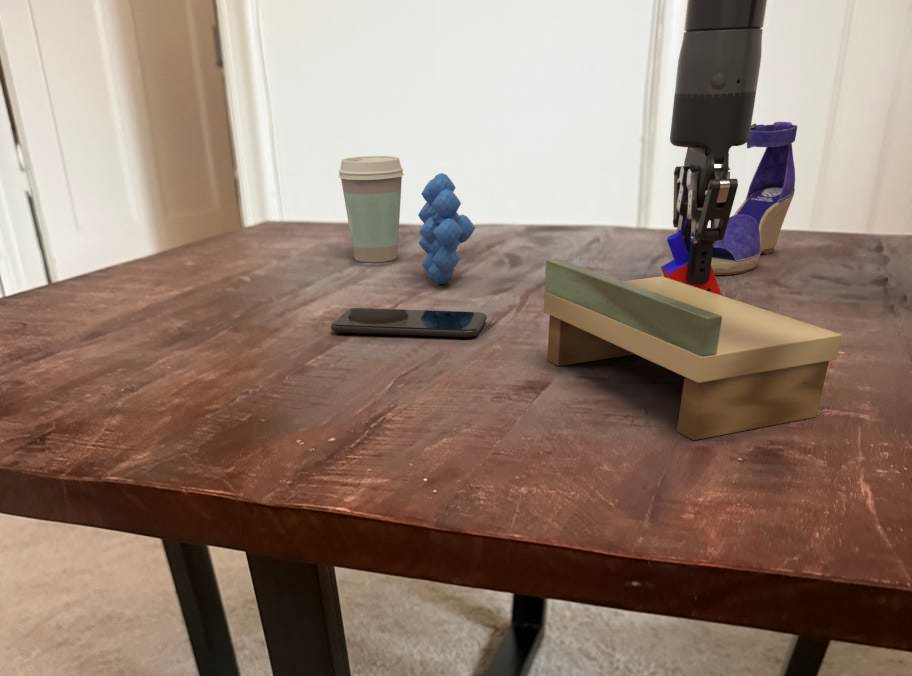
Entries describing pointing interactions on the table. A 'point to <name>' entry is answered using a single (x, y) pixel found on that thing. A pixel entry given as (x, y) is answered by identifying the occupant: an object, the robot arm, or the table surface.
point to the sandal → (760, 202)
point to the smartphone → (410, 322)
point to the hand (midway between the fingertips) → (691, 278)
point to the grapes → (442, 228)
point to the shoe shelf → (692, 346)
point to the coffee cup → (373, 205)
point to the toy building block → (684, 265)
